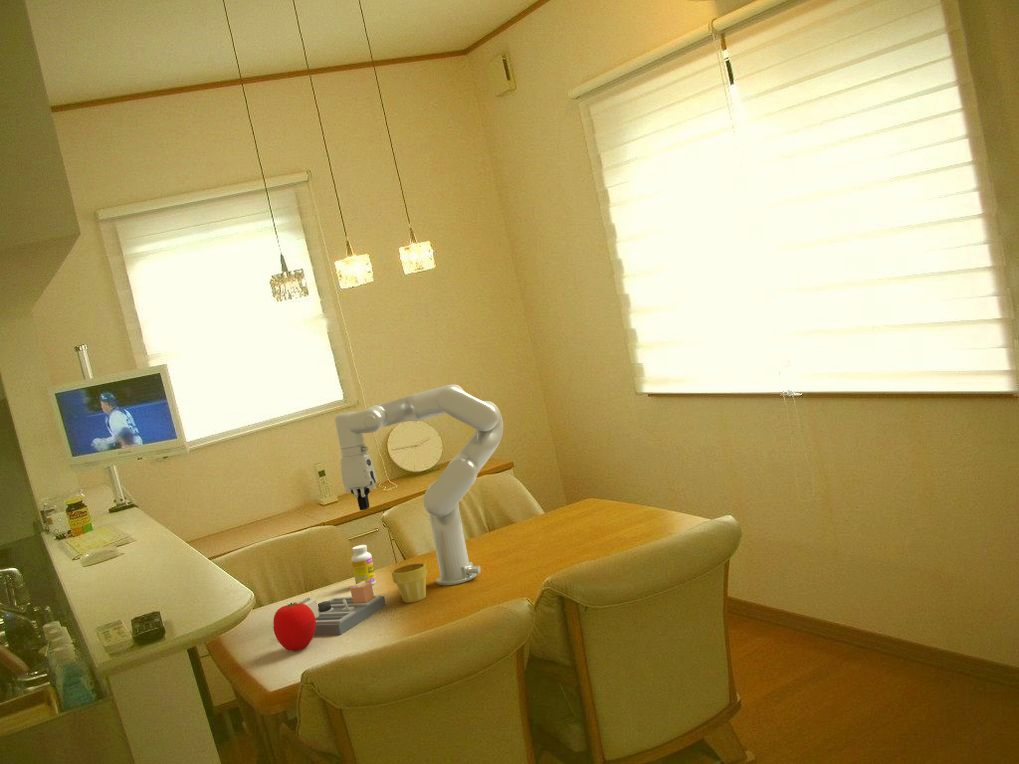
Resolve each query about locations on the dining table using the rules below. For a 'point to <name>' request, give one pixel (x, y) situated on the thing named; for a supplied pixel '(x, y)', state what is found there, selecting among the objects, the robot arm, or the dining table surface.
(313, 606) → the cream slider
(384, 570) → the dining table surface
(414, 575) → the plant pot
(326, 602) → the black button
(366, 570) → the supplement bottle
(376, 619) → the dining table surface
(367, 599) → the salmon pink block
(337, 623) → the grey slotted tray
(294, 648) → the tomato
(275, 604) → the dining table surface
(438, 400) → the robot arm
